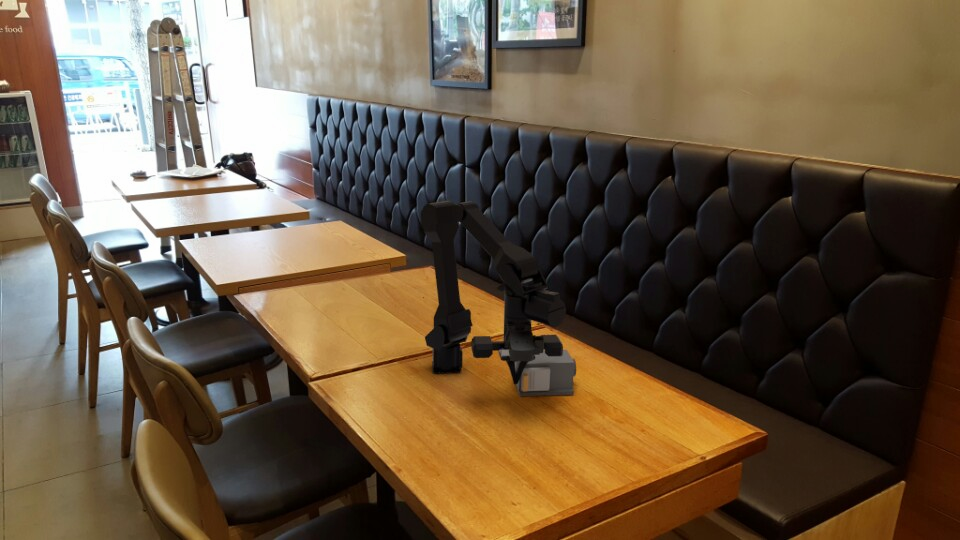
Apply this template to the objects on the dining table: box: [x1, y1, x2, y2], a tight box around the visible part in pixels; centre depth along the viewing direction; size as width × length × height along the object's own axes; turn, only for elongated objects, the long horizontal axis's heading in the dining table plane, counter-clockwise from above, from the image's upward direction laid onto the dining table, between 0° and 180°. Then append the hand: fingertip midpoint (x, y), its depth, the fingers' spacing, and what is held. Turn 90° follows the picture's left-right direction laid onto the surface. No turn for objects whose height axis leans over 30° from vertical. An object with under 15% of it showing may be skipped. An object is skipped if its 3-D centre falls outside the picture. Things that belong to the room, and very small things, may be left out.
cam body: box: [515, 349, 577, 397], centre depth 150 cm, size 13×8×8 cm, turn 96°
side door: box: [521, 367, 550, 391], centre depth 145 cm, size 6×2×5 cm, turn 96°
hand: (515, 383), depth 144 cm, fingers closed
